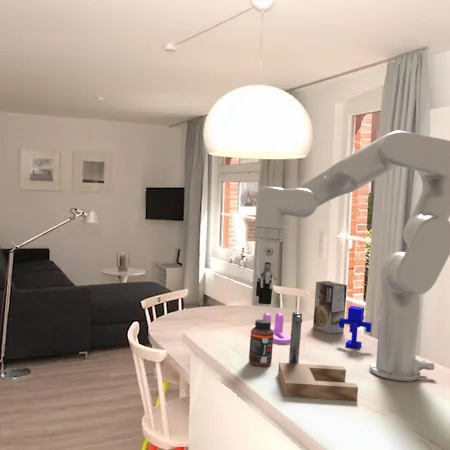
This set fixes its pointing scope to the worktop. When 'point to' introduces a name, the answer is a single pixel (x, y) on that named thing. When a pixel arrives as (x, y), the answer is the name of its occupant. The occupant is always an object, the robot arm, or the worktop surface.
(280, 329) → the bracket
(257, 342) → the supplement bottle
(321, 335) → the worktop surface
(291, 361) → the hook post
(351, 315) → the figurine
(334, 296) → the coffee box
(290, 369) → the bay shelf
